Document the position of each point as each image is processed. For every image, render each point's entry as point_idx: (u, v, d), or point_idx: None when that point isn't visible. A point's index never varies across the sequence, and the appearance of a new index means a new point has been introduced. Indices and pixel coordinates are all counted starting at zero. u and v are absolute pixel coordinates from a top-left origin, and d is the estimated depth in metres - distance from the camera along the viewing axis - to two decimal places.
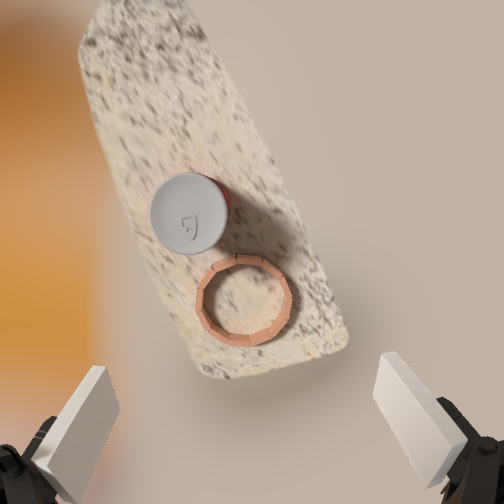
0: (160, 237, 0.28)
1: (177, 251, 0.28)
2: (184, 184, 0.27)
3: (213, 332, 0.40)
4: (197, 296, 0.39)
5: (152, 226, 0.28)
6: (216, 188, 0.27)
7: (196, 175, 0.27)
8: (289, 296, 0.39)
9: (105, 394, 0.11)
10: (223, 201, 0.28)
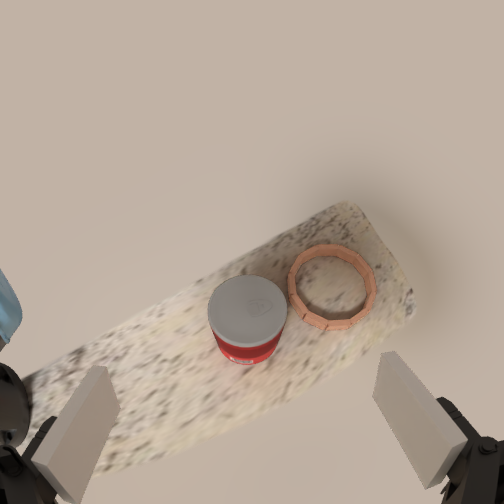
0: (273, 331, 0.28)
1: (284, 313, 0.29)
2: (218, 314, 0.29)
3: (368, 305, 0.39)
4: (336, 324, 0.37)
5: (263, 340, 0.28)
6: (220, 285, 0.31)
7: (209, 303, 0.29)
8: (316, 246, 0.44)
9: (105, 394, 0.11)
10: (232, 278, 0.31)
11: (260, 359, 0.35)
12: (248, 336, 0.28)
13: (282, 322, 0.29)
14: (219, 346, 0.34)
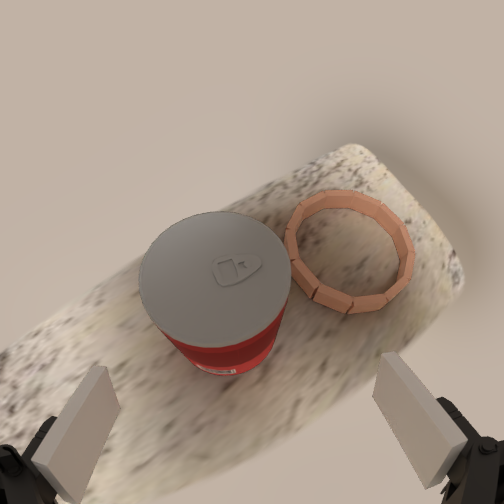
0: (266, 312, 0.14)
1: (286, 276, 0.15)
2: (159, 284, 0.15)
3: (407, 271, 0.25)
4: (365, 302, 0.24)
5: (246, 331, 0.13)
6: (164, 232, 0.16)
7: (143, 264, 0.15)
8: (323, 193, 0.30)
9: (105, 394, 0.11)
10: (185, 219, 0.17)
11: (248, 366, 0.20)
12: (216, 325, 0.14)
13: (283, 293, 0.14)
14: None
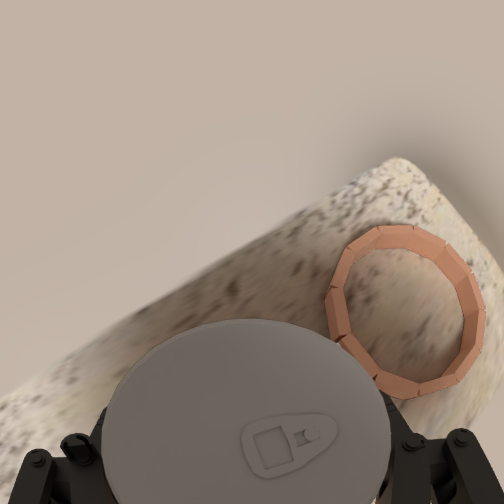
0: None
1: (383, 454, 0.06)
2: (141, 467, 0.06)
3: (478, 338, 0.16)
4: (433, 389, 0.15)
5: None
6: (141, 363, 0.07)
7: (105, 428, 0.06)
8: (376, 231, 0.21)
9: None
10: (180, 336, 0.08)
11: None
12: None
13: (377, 485, 0.05)
14: None
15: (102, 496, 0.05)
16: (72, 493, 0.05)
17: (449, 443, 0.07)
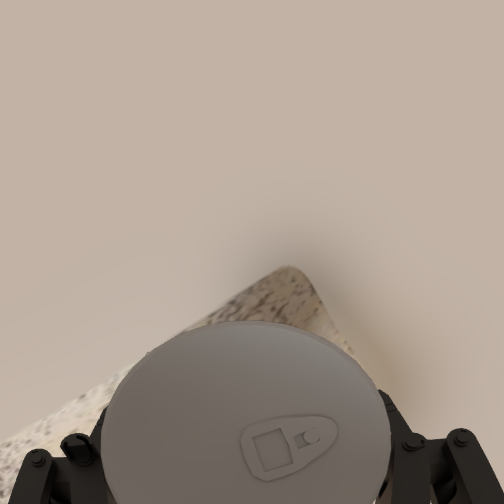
0: None
1: (383, 456, 0.06)
2: (141, 469, 0.06)
3: None
4: None
5: None
6: (140, 365, 0.07)
7: (105, 430, 0.06)
8: None
9: None
10: (180, 338, 0.08)
11: None
12: None
13: (376, 487, 0.05)
14: None
15: (102, 496, 0.05)
16: (72, 493, 0.05)
17: (449, 443, 0.07)
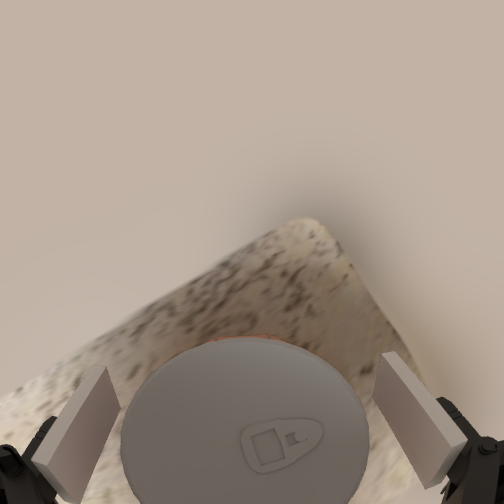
0: None
1: (362, 454, 0.07)
2: (155, 465, 0.07)
3: None
4: None
5: None
6: (154, 376, 0.09)
7: (124, 432, 0.07)
8: None
9: (105, 394, 0.11)
10: (188, 352, 0.09)
11: None
12: None
13: (357, 481, 0.07)
14: None
15: (34, 503, 0.04)
16: (9, 503, 0.04)
17: None
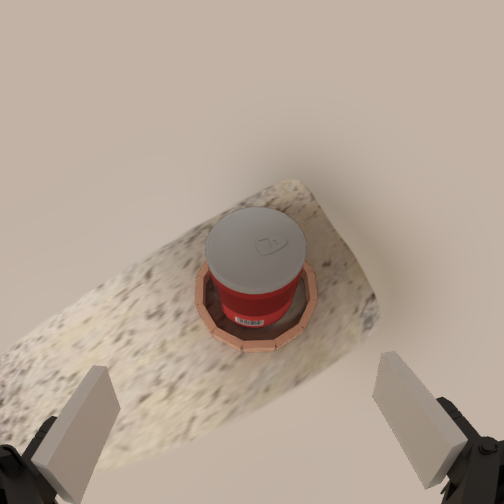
0: (290, 271, 0.22)
1: (303, 249, 0.23)
2: (220, 254, 0.23)
3: (303, 319, 0.29)
4: (253, 347, 0.28)
5: (278, 282, 0.22)
6: (221, 220, 0.24)
7: (208, 241, 0.23)
8: None
9: (105, 394, 0.11)
10: (235, 211, 0.25)
11: (272, 319, 0.29)
12: (259, 279, 0.22)
13: (301, 260, 0.23)
14: (221, 304, 0.28)
15: (34, 503, 0.04)
16: (9, 503, 0.04)
17: None
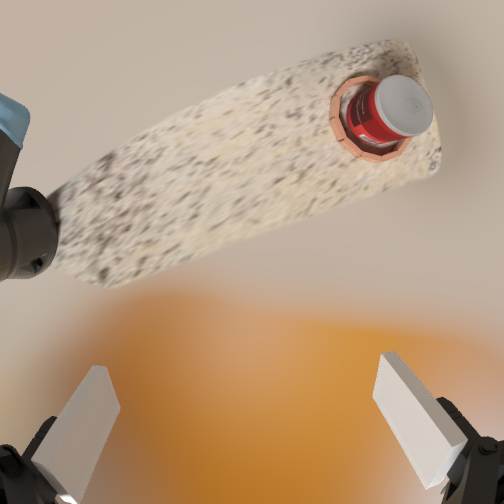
0: (422, 129, 0.28)
1: (431, 118, 0.28)
2: (384, 101, 0.28)
3: (400, 149, 0.37)
4: (368, 157, 0.38)
5: (415, 133, 0.28)
6: (387, 78, 0.27)
7: (379, 90, 0.27)
8: (366, 77, 0.35)
9: (105, 394, 0.11)
10: (396, 75, 0.27)
11: (384, 142, 0.37)
12: (405, 127, 0.28)
13: (429, 124, 0.28)
14: (357, 123, 0.35)
15: (34, 503, 0.04)
16: (9, 503, 0.04)
17: None
